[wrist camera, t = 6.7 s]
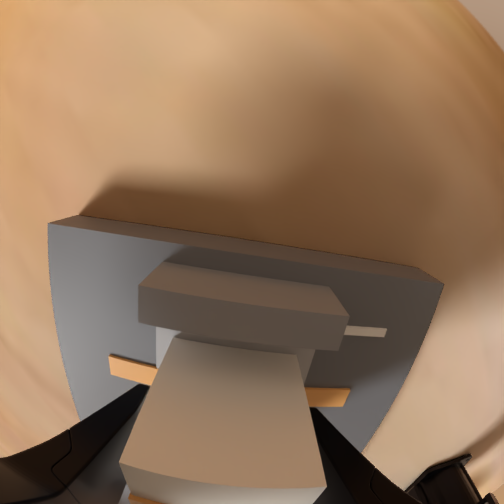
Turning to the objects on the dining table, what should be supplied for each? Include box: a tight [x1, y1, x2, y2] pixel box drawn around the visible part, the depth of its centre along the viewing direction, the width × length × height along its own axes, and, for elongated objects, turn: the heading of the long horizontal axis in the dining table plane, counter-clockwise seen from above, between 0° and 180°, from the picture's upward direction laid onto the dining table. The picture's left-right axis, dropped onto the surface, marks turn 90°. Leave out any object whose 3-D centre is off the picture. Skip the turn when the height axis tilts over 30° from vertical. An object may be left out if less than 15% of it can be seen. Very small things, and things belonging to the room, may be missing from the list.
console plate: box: [48, 215, 444, 504], centre depth 11 cm, size 14×22×4 cm, turn 171°
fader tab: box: [119, 337, 327, 504], centre depth 7 cm, size 4×4×5 cm
